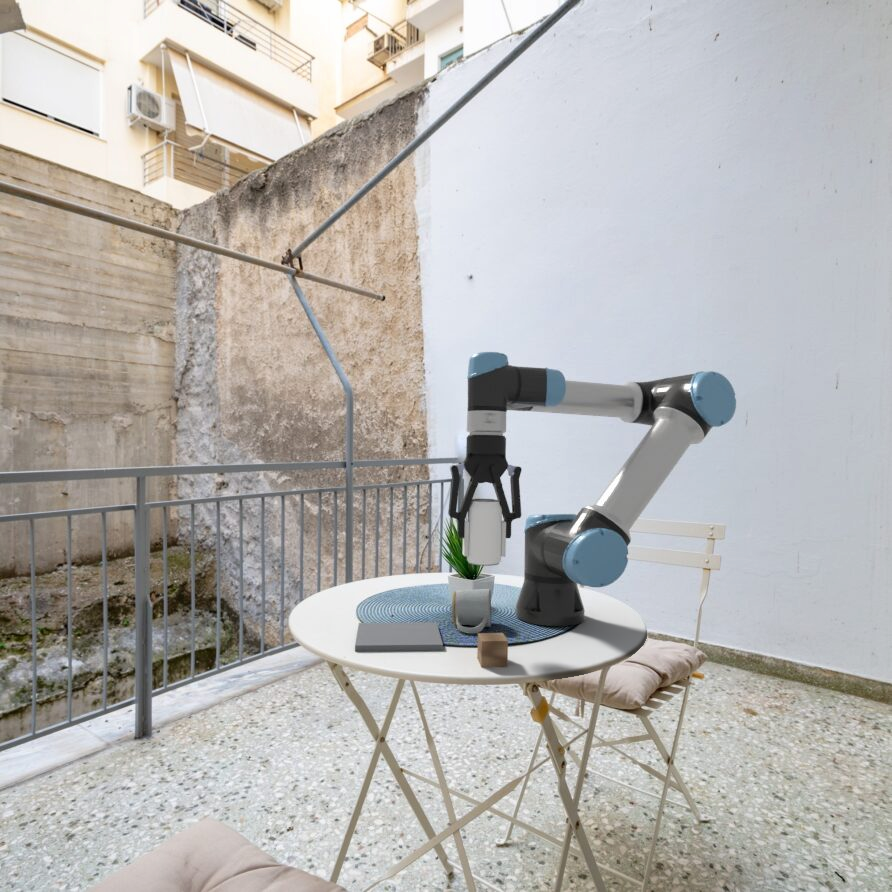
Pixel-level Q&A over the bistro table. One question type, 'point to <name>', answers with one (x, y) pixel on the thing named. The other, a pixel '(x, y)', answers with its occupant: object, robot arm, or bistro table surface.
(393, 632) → the mat
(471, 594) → the ceramic mug
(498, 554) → the can
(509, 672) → the bistro table surface
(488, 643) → the walnut block
